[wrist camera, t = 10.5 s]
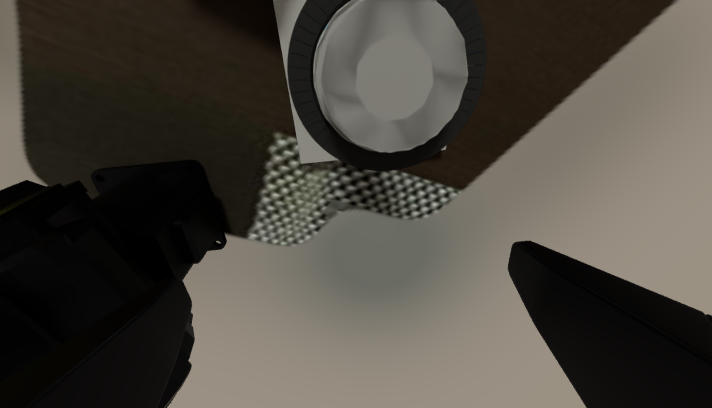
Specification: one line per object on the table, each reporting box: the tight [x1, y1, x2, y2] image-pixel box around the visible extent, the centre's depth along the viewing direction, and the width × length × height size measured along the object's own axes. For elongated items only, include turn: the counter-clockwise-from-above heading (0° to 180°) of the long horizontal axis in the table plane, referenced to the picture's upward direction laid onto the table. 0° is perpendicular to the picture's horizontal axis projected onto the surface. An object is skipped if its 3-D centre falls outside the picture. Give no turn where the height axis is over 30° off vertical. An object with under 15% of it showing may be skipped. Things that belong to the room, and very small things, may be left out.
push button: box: [287, 0, 486, 171], centre depth 12 cm, size 7×5×10 cm
